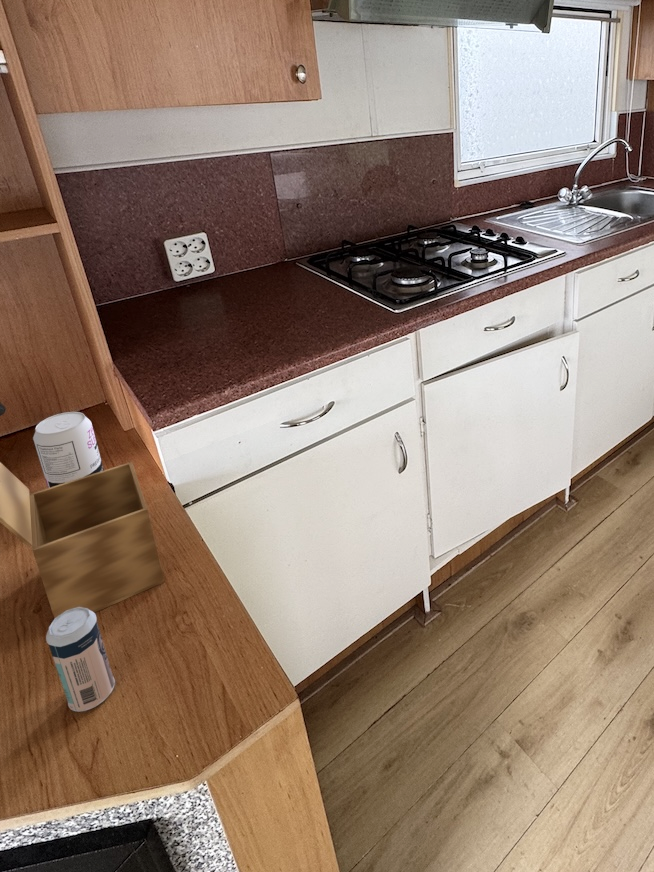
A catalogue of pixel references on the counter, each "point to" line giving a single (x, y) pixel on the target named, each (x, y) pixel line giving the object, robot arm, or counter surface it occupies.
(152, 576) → the open box
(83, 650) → the beer can
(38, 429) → the supplement can
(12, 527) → the flap
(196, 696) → the counter surface
